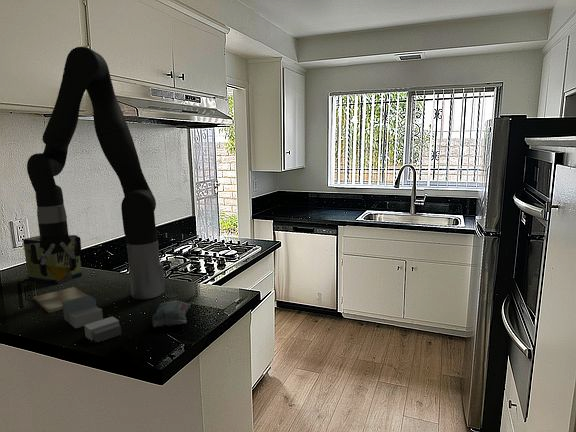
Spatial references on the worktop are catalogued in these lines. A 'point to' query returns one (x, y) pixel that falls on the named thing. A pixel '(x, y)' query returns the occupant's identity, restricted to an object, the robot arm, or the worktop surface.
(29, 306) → the worktop surface
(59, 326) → the worktop surface
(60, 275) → the yellow tapered piece
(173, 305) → the packaged food
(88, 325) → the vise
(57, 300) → the birch board
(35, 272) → the protein box
